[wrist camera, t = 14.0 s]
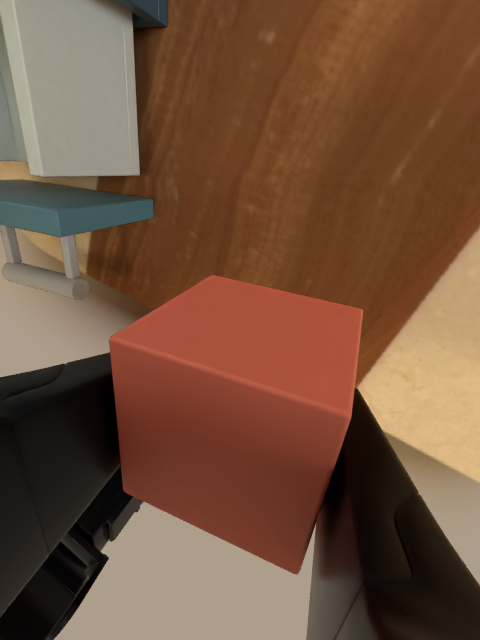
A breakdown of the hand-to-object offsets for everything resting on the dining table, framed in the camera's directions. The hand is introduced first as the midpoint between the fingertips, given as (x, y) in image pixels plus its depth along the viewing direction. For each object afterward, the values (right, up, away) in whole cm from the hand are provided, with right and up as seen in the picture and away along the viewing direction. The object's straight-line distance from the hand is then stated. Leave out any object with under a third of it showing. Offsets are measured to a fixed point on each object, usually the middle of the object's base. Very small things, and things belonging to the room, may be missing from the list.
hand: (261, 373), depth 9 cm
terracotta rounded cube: (0, 0, +1) cm, 1 cm away
